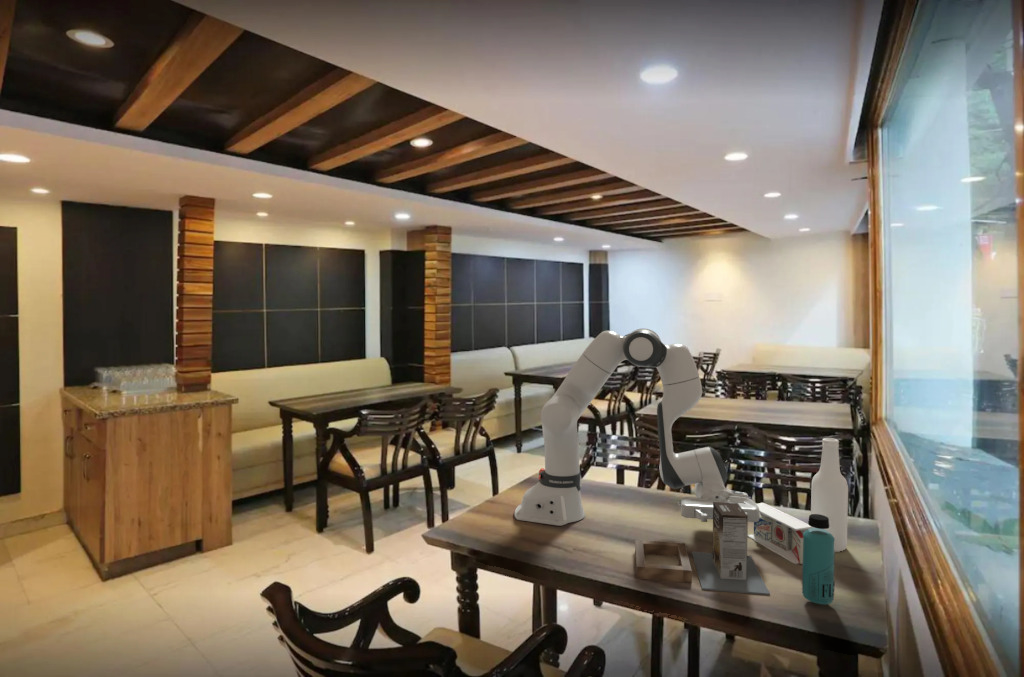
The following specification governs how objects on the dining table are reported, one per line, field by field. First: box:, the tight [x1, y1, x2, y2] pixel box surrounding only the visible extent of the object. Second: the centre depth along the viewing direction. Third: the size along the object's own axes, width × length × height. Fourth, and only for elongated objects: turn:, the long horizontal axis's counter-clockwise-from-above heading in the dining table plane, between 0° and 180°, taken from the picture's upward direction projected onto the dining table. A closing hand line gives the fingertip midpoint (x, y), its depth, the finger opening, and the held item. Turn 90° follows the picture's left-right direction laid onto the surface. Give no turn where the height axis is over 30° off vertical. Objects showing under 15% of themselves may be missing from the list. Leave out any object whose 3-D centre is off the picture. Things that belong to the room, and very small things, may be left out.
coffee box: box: [712, 502, 749, 580], centre depth 141 cm, size 9×6×16 cm
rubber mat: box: [691, 551, 771, 596], centre depth 142 cm, size 15×20×1 cm
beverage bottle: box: [801, 513, 836, 605], centre depth 126 cm, size 6×7×20 cm
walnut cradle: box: [634, 539, 693, 584], centre depth 146 cm, size 13×16×3 cm
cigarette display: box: [748, 502, 813, 565], centre depth 155 cm, size 20×6×9 cm, turn 16°
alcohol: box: [810, 437, 849, 553], centre depth 156 cm, size 9×9×30 cm
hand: (723, 520), depth 147 cm, fingers open, 8 cm apart
